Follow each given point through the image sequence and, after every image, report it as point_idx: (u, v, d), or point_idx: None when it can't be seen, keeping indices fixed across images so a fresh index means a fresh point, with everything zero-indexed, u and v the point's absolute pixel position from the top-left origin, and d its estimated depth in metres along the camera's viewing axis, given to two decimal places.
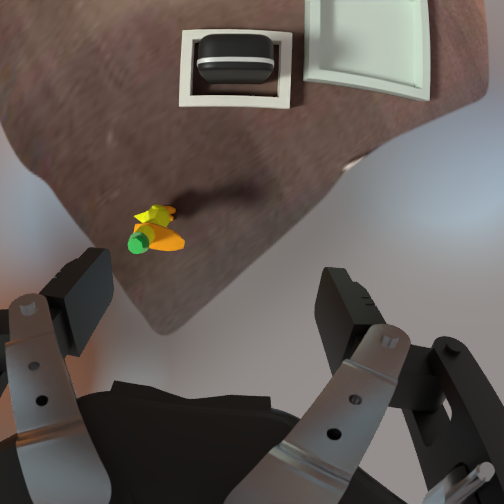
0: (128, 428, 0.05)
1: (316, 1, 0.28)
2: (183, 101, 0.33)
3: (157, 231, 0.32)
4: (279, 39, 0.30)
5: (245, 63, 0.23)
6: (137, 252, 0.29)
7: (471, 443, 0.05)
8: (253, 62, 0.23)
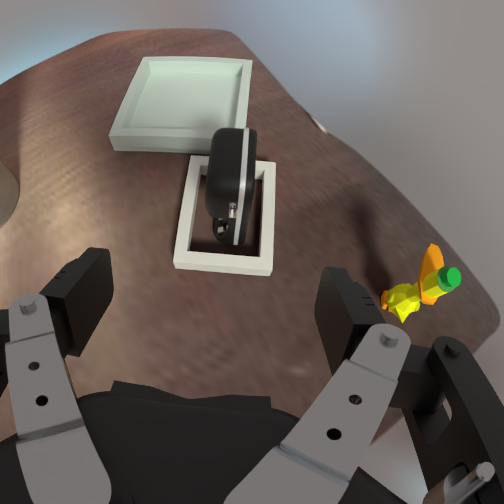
0: (128, 428, 0.05)
1: (156, 131, 0.34)
2: (266, 264, 0.31)
3: (427, 271, 0.25)
4: (198, 166, 0.34)
5: (250, 143, 0.24)
6: (459, 274, 0.21)
7: (471, 443, 0.05)
8: (249, 137, 0.24)
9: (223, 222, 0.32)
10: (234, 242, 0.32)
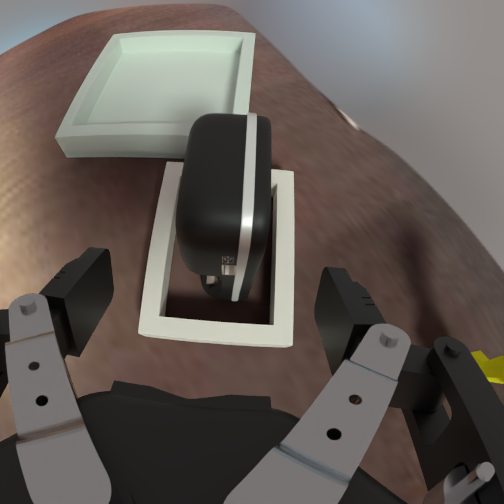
0: (128, 428, 0.05)
1: (118, 127, 0.22)
2: (284, 337, 0.19)
3: None
4: (177, 178, 0.22)
5: (260, 142, 0.13)
6: None
7: (471, 443, 0.05)
8: (258, 129, 0.13)
9: None
10: (232, 298, 0.21)
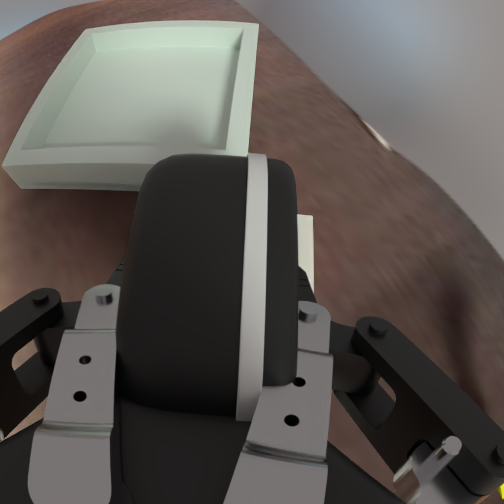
0: (128, 428, 0.05)
1: (74, 153, 0.16)
2: None
3: None
4: None
5: (275, 229, 0.06)
6: None
7: (426, 420, 0.05)
8: (270, 198, 0.06)
9: None
10: None
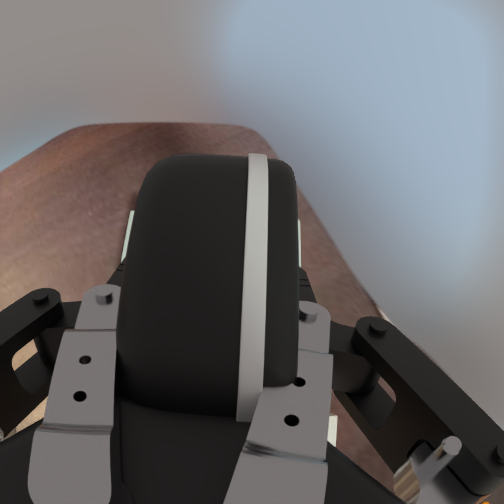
0: (128, 428, 0.05)
1: None
2: None
3: None
4: None
5: (276, 229, 0.06)
6: None
7: (426, 420, 0.05)
8: (271, 198, 0.06)
9: None
10: None
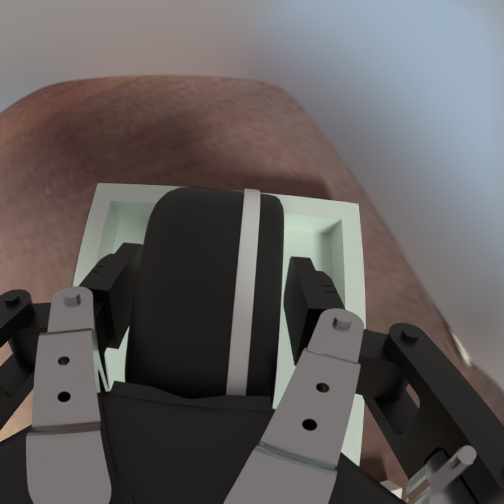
0: (128, 428, 0.05)
1: None
2: None
3: None
4: None
5: (263, 262, 0.07)
6: None
7: (446, 428, 0.05)
8: (261, 234, 0.08)
9: None
10: None
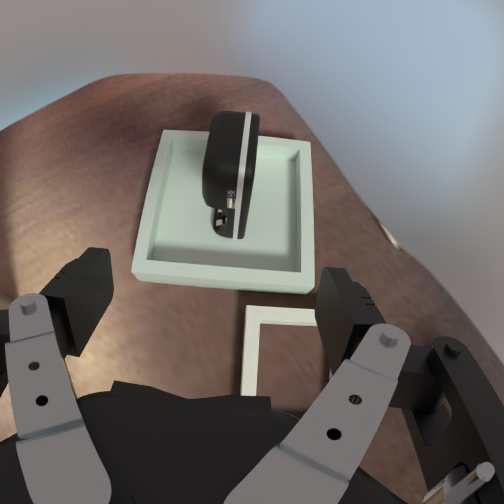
0: (128, 428, 0.05)
1: (197, 269, 0.27)
2: None
3: None
4: (257, 322, 0.27)
5: (252, 127, 0.22)
6: None
7: (471, 443, 0.05)
8: (251, 121, 0.22)
9: (222, 215, 0.30)
10: (233, 236, 0.30)
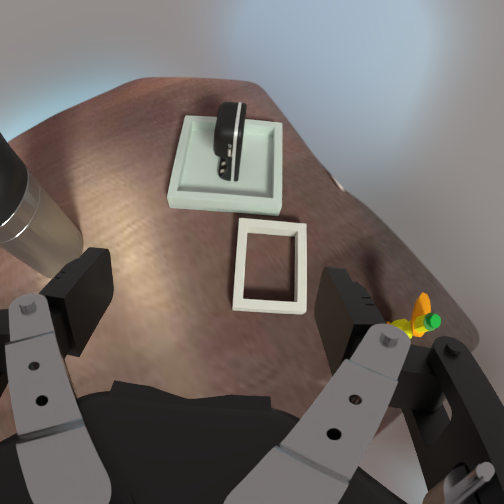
0: (128, 428, 0.05)
1: (209, 195, 0.44)
2: (302, 307, 0.41)
3: (417, 314, 0.35)
4: (246, 227, 0.44)
5: (241, 110, 0.39)
6: (439, 319, 0.31)
7: (471, 443, 0.05)
8: (241, 107, 0.39)
9: (224, 166, 0.47)
10: (231, 179, 0.47)
